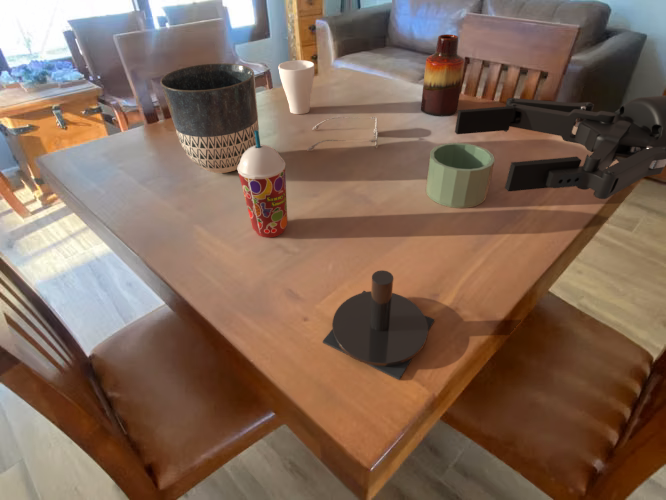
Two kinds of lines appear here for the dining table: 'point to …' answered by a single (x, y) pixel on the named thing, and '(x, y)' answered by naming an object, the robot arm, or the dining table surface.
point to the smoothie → (264, 188)
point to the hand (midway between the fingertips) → (480, 146)
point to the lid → (380, 325)
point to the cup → (297, 84)
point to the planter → (213, 112)
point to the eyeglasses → (343, 140)
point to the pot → (459, 174)
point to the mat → (391, 370)
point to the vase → (443, 78)
